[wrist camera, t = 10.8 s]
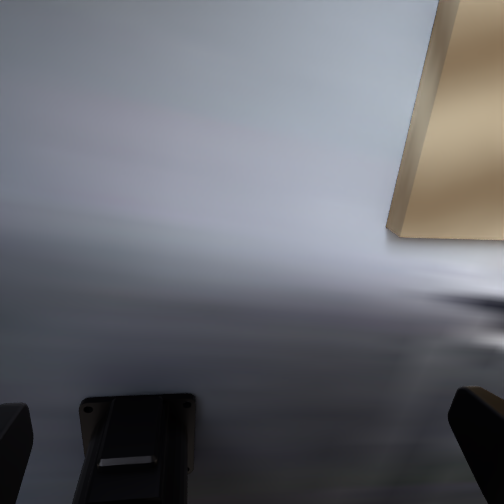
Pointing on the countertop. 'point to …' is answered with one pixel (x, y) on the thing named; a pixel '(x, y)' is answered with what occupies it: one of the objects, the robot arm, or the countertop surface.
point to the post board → (456, 130)
